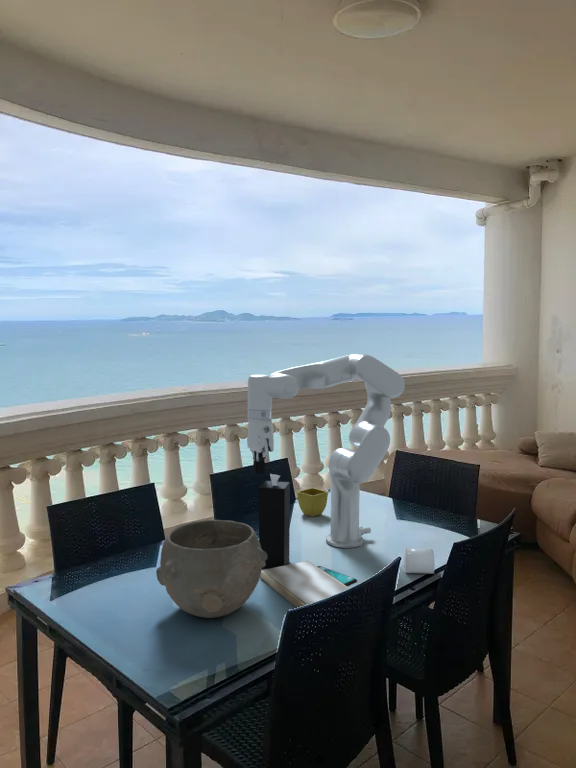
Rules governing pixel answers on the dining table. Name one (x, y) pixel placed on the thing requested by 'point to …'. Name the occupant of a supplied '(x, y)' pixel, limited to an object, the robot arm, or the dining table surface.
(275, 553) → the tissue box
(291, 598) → the tray
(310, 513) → the flower pot
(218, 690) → the dining table surface
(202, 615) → the bowl
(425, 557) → the white rounded cube
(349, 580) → the smartphone
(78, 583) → the dining table surface
